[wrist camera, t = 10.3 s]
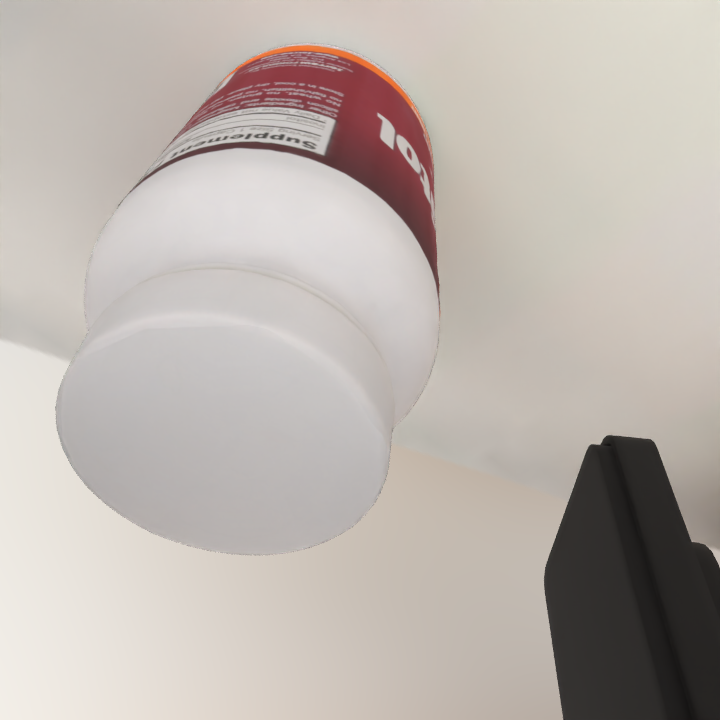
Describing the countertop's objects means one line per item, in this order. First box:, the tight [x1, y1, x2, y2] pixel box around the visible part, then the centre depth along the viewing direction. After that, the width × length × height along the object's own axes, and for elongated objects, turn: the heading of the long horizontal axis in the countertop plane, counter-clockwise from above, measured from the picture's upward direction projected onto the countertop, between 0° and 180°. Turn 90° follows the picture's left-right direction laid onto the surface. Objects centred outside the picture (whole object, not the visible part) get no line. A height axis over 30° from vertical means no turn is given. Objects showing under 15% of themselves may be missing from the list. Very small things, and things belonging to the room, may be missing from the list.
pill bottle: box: [56, 43, 440, 555], centre depth 14 cm, size 6×6×11 cm
